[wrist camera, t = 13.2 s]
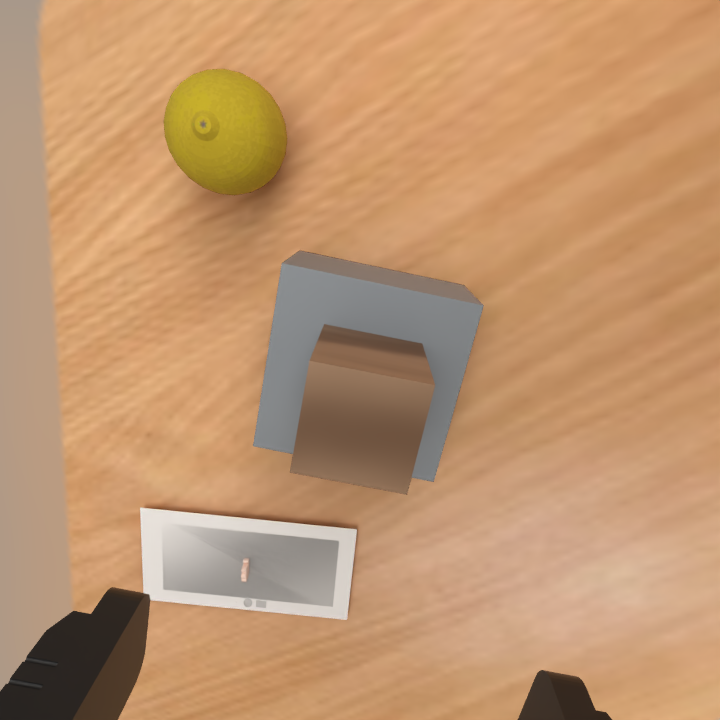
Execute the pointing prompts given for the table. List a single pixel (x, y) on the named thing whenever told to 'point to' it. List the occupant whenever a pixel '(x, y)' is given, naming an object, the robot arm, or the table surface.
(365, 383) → the walnut block
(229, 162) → the lemon
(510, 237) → the table surface
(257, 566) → the touchpad
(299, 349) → the base block
